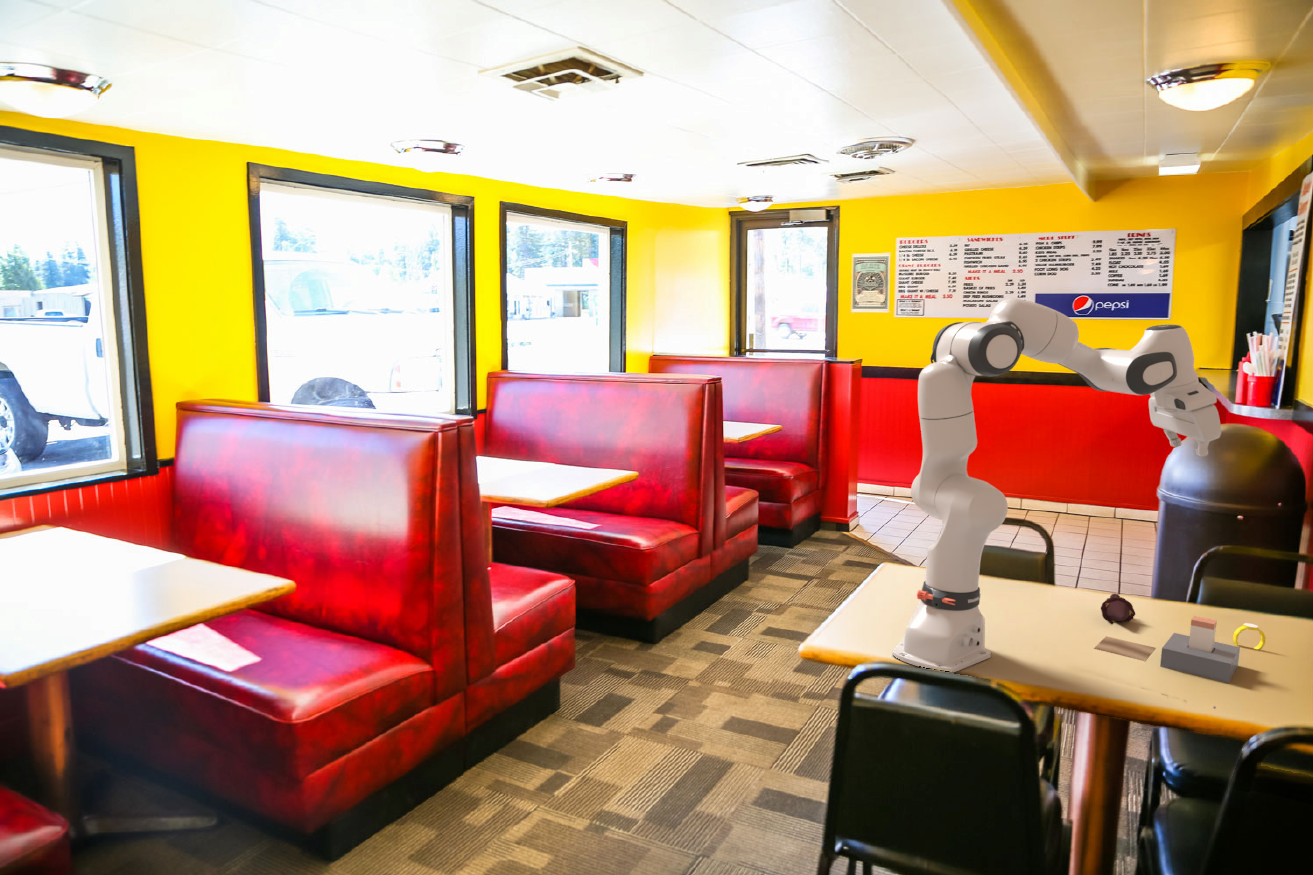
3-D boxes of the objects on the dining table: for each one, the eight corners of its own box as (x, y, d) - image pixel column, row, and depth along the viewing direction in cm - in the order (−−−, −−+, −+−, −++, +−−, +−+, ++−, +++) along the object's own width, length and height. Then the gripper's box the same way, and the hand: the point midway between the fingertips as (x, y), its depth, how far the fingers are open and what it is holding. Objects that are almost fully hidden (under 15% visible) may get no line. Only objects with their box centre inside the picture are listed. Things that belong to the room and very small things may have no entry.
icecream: (1145, 610, 194) (1132, 596, 209) (1111, 598, 197) (1100, 585, 211) (1135, 637, 195) (1122, 621, 210) (1101, 625, 198) (1091, 611, 212)
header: (1228, 687, 168) (1230, 663, 167) (1159, 670, 176) (1162, 647, 175) (1237, 669, 177) (1240, 647, 176) (1171, 654, 185) (1174, 632, 184)
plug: (1209, 670, 174) (1214, 624, 172) (1186, 665, 176) (1191, 619, 175) (1211, 666, 176) (1216, 620, 175) (1189, 661, 179) (1194, 615, 177)
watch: (1258, 650, 189) (1263, 625, 188) (1264, 654, 186) (1270, 629, 185) (1229, 646, 190) (1234, 620, 189) (1235, 650, 187) (1240, 625, 186)
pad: (1144, 665, 178) (1145, 660, 178) (1093, 652, 185) (1093, 648, 185) (1155, 652, 186) (1155, 647, 186) (1105, 640, 192) (1106, 636, 192)
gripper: (1136, 390, 198) (1148, 445, 201) (1192, 405, 178) (1204, 465, 181) (1163, 382, 198) (1174, 436, 201) (1221, 396, 178) (1233, 456, 181)
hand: (1189, 450), depth 191 cm, fingers open, 8 cm apart
